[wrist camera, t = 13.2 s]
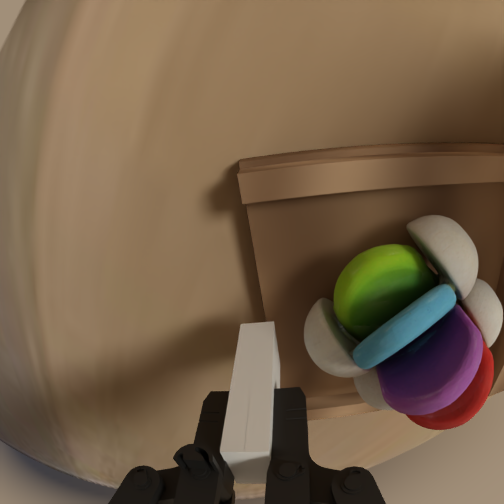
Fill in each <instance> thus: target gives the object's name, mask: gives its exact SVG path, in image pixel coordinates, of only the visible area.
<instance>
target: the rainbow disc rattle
mask: <svg viewBox="0 0 504 504" xmlns="http://www.w3.org/2000/svg"><path fill="white" fill-rule="evenodd" d="M406 228H407V230H408V232H409V234H410V236H411V237H412V239H413V240H414V242H415V243H416V245H417V246H418V247H419V249H420V250H421V251H422V253H423V254H424V255H425V257H426V258H427V260H428V261H429V262H430V263H431V265H432V266H433V267H434V269H435V270H436V271H437V273H438V274H435V273H434V272H433V271H432V270H431V269H430V268H429V267H428V266H427V265H426V263H425V261H424V259H423V258H422V256H421V255H420V254H419V253H418V252H417V250H416V249H415V248H413V247H411V246H409V245H399V244H389V245H381V246H377V247H373V248H371V249H368V250H366V251H364V252H362V253H360V254H358V255H357V256H356V257H355V258H354V259H352V260H351V261H350V262H349V264H348V265H347V266H346V267H345V268H344V270H343V271H342V272H341V274H340V276H339V278H338V280H337V282H336V285H335V289H334V302H332V301H331V300H329V299H326V298H321V299H319V300H318V301H317V302H316V303H315V304H314V305H313V307H312V308H311V310H310V312H309V314H308V316H307V318H306V321H305V326H304V342H305V346H306V349H307V351H308V353H309V355H310V357H311V358H312V360H313V361H314V362H315V364H316V365H317V366H318V367H319V368H320V369H322V370H323V371H325V372H327V373H329V374H331V375H334V376H338V377H346V378H349V377H353V379H354V384H355V387H356V389H357V391H358V393H359V394H360V396H361V397H362V399H363V400H364V401H365V402H366V403H367V404H368V405H370V406H372V407H374V408H377V409H380V410H396V411H398V412H400V413H404V414H406V415H407V416H408V418H409V419H410V420H412V421H413V422H415V423H416V424H418V425H420V426H422V427H425V428H428V429H434V430H445V429H451V428H454V427H458V426H460V425H462V424H464V423H466V422H467V421H469V420H470V419H471V418H472V417H473V416H474V415H475V414H476V413H477V412H478V411H479V410H480V409H481V407H482V406H483V404H484V403H485V401H486V399H487V397H488V395H489V393H490V390H491V387H492V383H493V377H494V360H493V356H492V353H491V351H490V350H489V347H491V345H492V344H493V343H494V342H495V340H496V339H497V337H498V335H499V333H500V330H501V327H502V322H503V309H502V305H501V303H500V301H499V299H498V297H497V295H496V294H495V292H494V291H493V290H492V288H491V287H490V286H489V285H488V284H487V283H486V282H485V281H483V280H481V279H478V278H477V273H478V254H477V250H476V247H475V245H474V243H473V242H472V240H471V239H470V237H469V236H468V234H467V233H466V232H465V231H464V230H463V228H462V227H461V226H460V225H459V224H458V223H456V222H455V221H454V220H452V219H450V218H447V217H444V216H440V215H428V216H423V217H420V218H417V219H415V220H413V221H411V222H409V223H408V224H407V227H406Z"/></svg>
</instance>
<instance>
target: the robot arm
mask: <svg viewBox="0 0 504 504" xmlns="http://www.w3.org/2000/svg"><path fill="white" fill-rule="evenodd" d="M173 459H174V460H175V461H176V463H177V464H178V465H179V466H178V467H175V468H170V469H165V470H158V471H156V470H155V469H153V468H152V467H149V466H137V467H135V468H133V469H132V470H131V471H130V472H129V473H128V474H127V475H126V477H125V478H124V480H123V482H122V483H121V485H120V486H119V488H118V489H117V491H116V493H115V494H114V496H113V497H112V499H111V500H110V502H109V503H108V504H235V491H234V490H233V485H234V479H235V481H236V483H251V484H261V483H266V492H265V504H386V503H385V501H384V499H383V497H382V495H381V493H380V490H379V489H378V486H377V484H376V482H375V480H374V478H373V476H372V475H371V473H370V472H369V471H368V470H366V469H364V468H362V467H355V466H353V467H348V468H345V469H343V470H341V471H339V470H333V469H328V468H324V467H321V466H319V465H317V464H316V463H315V462H314V461H313V460H312V459H311V457H310V455H309V446H308V424H307V407H306V396H305V394H304V393H303V391H302V389H301V388H300V387H291V388H280V359H279V352H278V345H277V339H276V332H275V325H274V321H272V322H260V323H247V324H241V325H240V332H239V338H238V344H237V350H236V356H235V362H234V368H233V374H232V380H231V386H230V391H211V392H210V393H209V394H208V396H207V397H206V399H205V400H204V401H203V406H202V410H201V414H200V419H199V423H198V427H197V431H196V436H195V440H194V444H188V445H186V446H183V447H181V448H180V449H179V450H178V451H177V452H176V453H175V455H174V457H173Z"/></svg>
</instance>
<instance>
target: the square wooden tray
mask: <svg viewBox="0 0 504 504" xmlns="http://www.w3.org/2000/svg"><path fill="white" fill-rule="evenodd" d="M239 167H240V170H239V172H238V174H237V177H238V182H239V188H240V194H241V199H242V204H246V208H247V213H248V219H249V225H250V231H251V237H252V242H253V248H254V254H255V260H256V266H257V271H258V277H259V283H260V289H261V295H262V301H263V306H264V312H265V318H266V322H272V321H274V325H275V332H276V339H277V345H278V352H279V359H280V388H291V387H300V388H301V389H302V391H303V393H304V394H305V396H306V407H307V421H308V420H318V419H327V418H335V417H342V416H349V415H356V414H362V413H368V412H374V411H379V410H380V409H377V408H374V407H372V406H370V405H368V404H367V403H366V402H365V401H364V400H363V399H362V397H361V396H360V394H359V393H358V391H357V389H356V387H355V384H354V379H353V377H349V378H346V377H338V376H334V375H331V374H329V373H327V372H325V371H323V370H322V369H320V368H319V367H318V366H317V365H316V364H315V362H314V361H313V360H312V358H311V357H310V355H309V353H308V351H307V349H306V346H305V342H304V326H305V321H306V318H307V316H308V314H309V312H310V310H311V308H312V307H313V305H314V304H315V303H316V302H317V301H318V300H319V299H321V298H326V299H329V300H331V301H332V302H334V289H335V285H336V282H337V280H338V278H339V276H340V274H341V272H342V271H343V270H344V268H345V267H346V266H347V265H348V264H349V262H350V261H351V260H352V259H354V258H355V257H356V256H357V255H358V254H360V253H362V252H364V251H366V250H368V249H371V248H373V247H377V246H381V245H389V244H399V245H409V246H411V247H413V248H415V249H416V250H417V252H418V253H419V254H420V255H421V256H422V258H423V259H424V261H425V263H426V265H427V266H428V267H429V268H430V269H431V270H432V271H433V272H434V273H435V274H438V273H437V271H436V270H435V269H434V267H433V266H432V265H431V263H430V262H429V261H428V260H427V258H426V257H425V255H424V254H423V253H422V251H421V250H420V249H419V247H418V246H417V245H416V243H415V242H414V240H413V239H412V237H411V236H410V234H409V232H408V230H407V228H406V227H407V224H408V223H409V222H411V221H413V220H415V219H417V218H420V217H423V216H428V215H440V216H444V217H447V218H450V219H452V220H454V221H455V222H456V223H458V224H459V225H460V226H461V227H462V228H463V230H464V231H465V232H466V233H467V234H468V236H469V237H470V239H471V240H472V242H473V243H474V245H475V247H476V250H477V254H478V273H477V278H478V279H481V280H483V281H485V282H486V283H487V284H488V285H489V286H490V287H491V288H492V290H493V291H494V292H495V294H496V295H497V297H498V299H499V301H500V303H501V305H502V309H503V322H502V327H501V330H500V333H499V335H498V337H497V339H496V340H495V342H494V343H493V344H492V345H491V347H489V350H490V351H491V353H492V356H493V360H494V377H493V383H492V387H491V390H490V393H489V395H488V396H491V395H494V394H496V393H499V392H501V391H504V144H483V143H410V144H385V145H368V146H353V147H340V148H329V149H318V150H308V151H299V152H291V153H282V154H274V155H267V156H259V157H252V158H246V159H240V161H239Z"/></svg>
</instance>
